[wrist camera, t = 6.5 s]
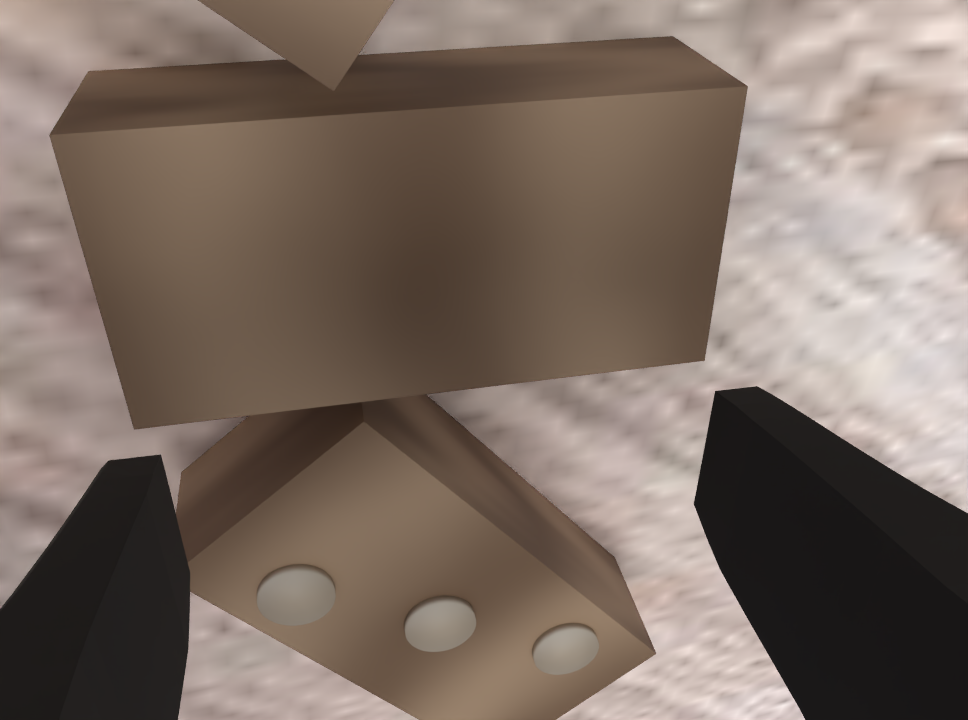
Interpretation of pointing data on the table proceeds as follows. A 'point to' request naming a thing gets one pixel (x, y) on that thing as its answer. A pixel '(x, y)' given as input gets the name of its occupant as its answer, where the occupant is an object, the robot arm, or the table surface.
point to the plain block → (399, 221)
